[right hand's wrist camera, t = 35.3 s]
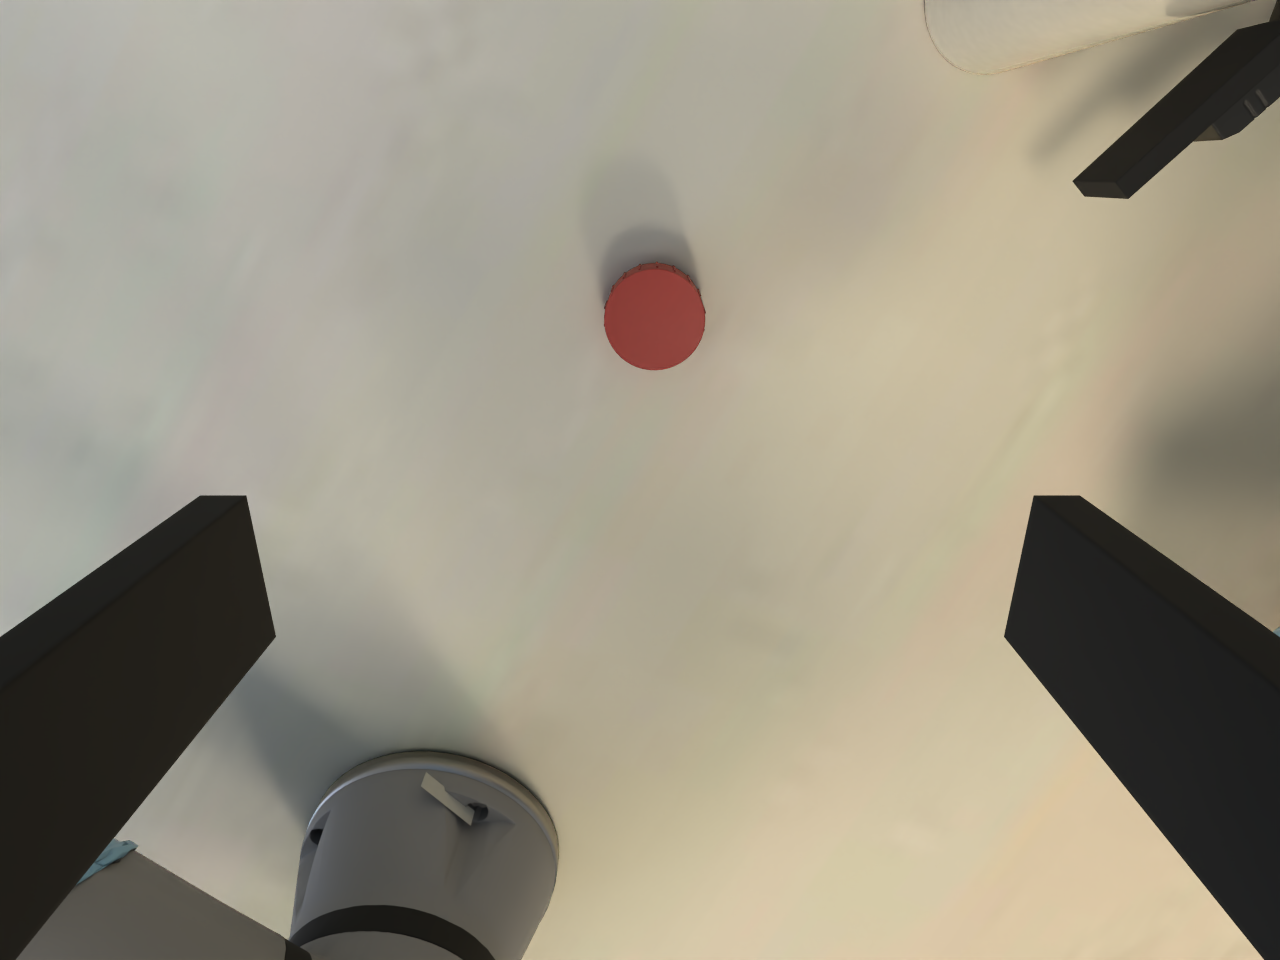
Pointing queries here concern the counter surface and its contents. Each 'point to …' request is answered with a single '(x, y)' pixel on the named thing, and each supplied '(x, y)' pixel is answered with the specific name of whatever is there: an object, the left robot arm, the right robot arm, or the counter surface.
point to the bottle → (1045, 27)
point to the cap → (654, 316)
